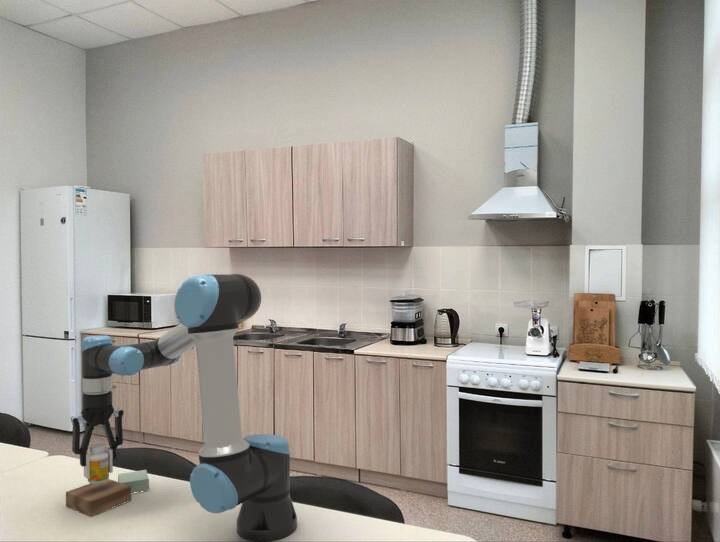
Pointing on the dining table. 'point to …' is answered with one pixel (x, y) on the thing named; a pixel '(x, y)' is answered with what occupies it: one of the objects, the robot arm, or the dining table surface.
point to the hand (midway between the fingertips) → (98, 474)
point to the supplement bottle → (98, 464)
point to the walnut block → (98, 497)
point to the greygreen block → (135, 480)
